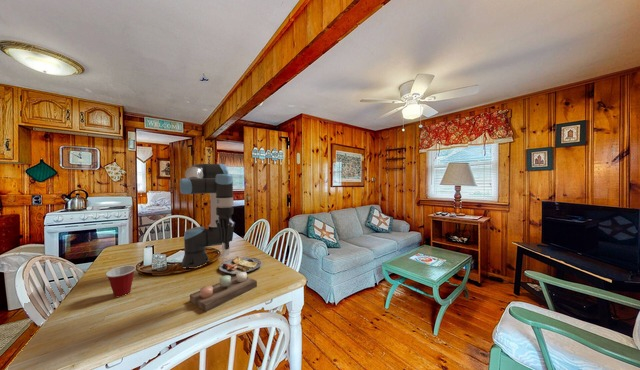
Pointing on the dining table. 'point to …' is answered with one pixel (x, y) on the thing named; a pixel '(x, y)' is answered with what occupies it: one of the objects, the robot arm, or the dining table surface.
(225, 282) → the sage button
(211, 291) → the terracotta button
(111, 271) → the plastic cup
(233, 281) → the button board
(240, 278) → the cream button
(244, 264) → the food plate
